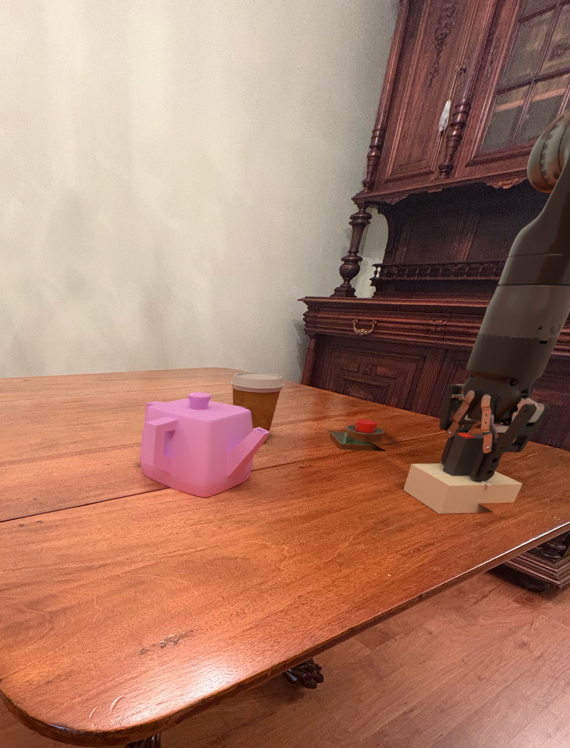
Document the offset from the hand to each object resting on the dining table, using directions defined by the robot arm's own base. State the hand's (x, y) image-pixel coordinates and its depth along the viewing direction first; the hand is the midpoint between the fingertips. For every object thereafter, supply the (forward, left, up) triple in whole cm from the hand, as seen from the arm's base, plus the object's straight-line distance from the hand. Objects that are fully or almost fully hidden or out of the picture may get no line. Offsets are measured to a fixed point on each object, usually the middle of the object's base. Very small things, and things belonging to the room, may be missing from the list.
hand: (463, 471), depth 57 cm
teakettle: (+34, -11, -4) cm, 36 cm away
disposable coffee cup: (+21, -29, -4) cm, 36 cm away
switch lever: (0, 0, 0) cm, 0 cm away
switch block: (0, -26, -4) cm, 26 cm away
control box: (0, 0, -4) cm, 4 cm away
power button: (0, -26, -2) cm, 26 cm away
